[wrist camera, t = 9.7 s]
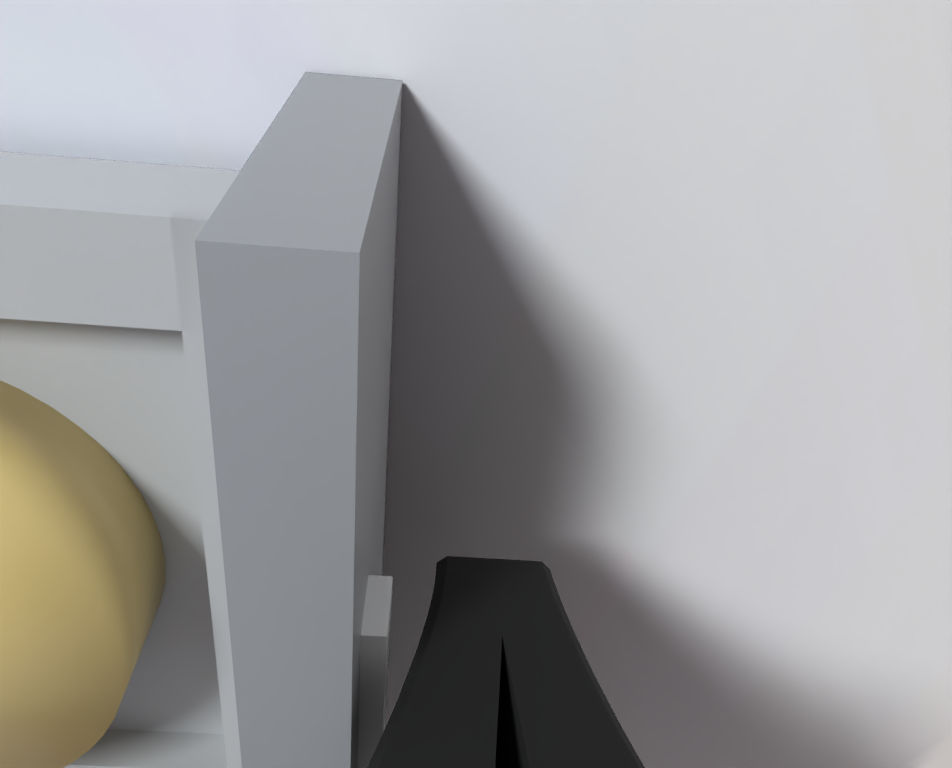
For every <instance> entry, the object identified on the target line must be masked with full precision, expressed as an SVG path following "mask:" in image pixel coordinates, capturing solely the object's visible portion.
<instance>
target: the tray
mask: <svg viewBox="0 0 952 768" xmlns="http://www.w3.org/2000/svg"><path fill="white" fill-rule="evenodd" d="M401 103H402V80H392V79H380V78H369V77H357V76H346V75H334V74H323V73H311V72H305V74H304V75H303V77H302V78H301V80H300V81H299V83H298V84H297V86H296V87H295V89H294V90H293V92H292V93H291V95H290V96H289V98H288V99H287V101H286V102H285V104H284V105H283V107H282V108H281V110H280V112H279V113H278V115H277V116H276V118H275V119H274V121H273V122H272V124H271V125H270V127H269V128H268V130H267V131H266V133H265V134H264V136H263V137H262V139H261V140H260V142H259V143H258V145H257V146H256V148H255V150H254V151H253V153H252V154H251V156H250V157H249V159H248V160H247V162H246V163H245V165H244V166H243V168H242V169H241V171H240V170H227V169H215V168H202V167H190V166H177V165H165V164H152V163H140V162H128V161H115V160H103V159H90V158H78V157H65V156H53V155H40V154H28V153H15V152H3V151H0V380H1V381H3V382H5V383H8V384H10V385H12V386H14V387H16V388H19V389H21V390H23V391H24V392H26V393H28V394H30V395H31V396H33V397H35V398H37V399H38V400H40V401H42V402H44V403H45V404H47V405H49V406H51V407H52V408H54V409H55V410H56V411H58V412H59V413H61V414H62V415H64V416H65V417H66V418H68V419H69V420H71V421H72V422H74V423H75V424H76V425H78V426H79V427H80V428H82V429H83V430H84V431H85V432H86V433H87V434H88V435H90V436H91V437H92V438H93V439H94V440H95V441H97V442H98V443H99V444H100V445H101V446H102V447H103V448H104V449H105V450H106V451H107V452H108V453H109V454H110V455H111V456H112V457H113V458H114V459H115V460H116V462H117V463H118V464H119V465H120V466H121V467H122V468H123V469H124V470H125V472H126V473H127V475H128V476H129V477H130V479H131V480H132V481H133V483H134V484H135V485H136V487H137V488H138V490H139V491H140V492H141V494H142V496H143V498H144V500H145V502H146V503H147V505H148V507H149V509H150V511H151V513H152V514H153V517H154V520H155V523H156V525H157V528H158V531H159V533H160V536H161V540H162V546H163V551H164V556H165V584H164V590H163V595H162V600H161V602H160V605H159V607H158V610H157V613H156V615H155V618H154V620H153V623H152V625H151V628H150V630H149V633H148V635H147V638H146V640H145V643H144V645H143V648H142V650H141V653H140V655H139V658H138V660H137V663H136V665H135V668H134V670H133V673H132V675H131V678H130V680H129V683H128V685H127V688H126V690H125V693H124V695H123V698H122V700H121V703H120V705H119V708H118V710H117V713H116V716H115V718H114V720H113V721H112V723H111V724H110V726H109V728H108V729H107V731H106V732H105V734H104V735H103V736H102V737H101V738H100V739H99V741H98V742H97V743H96V744H95V745H94V746H93V747H92V748H91V749H90V750H89V751H87V752H86V753H85V754H83V755H82V756H81V757H79V758H78V759H76V760H75V761H74V762H72V763H71V764H69V765H67V766H65V767H63V768H367V767H368V765H369V763H370V760H371V758H372V756H373V754H374V752H375V750H376V747H377V745H378V743H379V741H380V739H381V737H382V734H383V732H384V730H385V722H386V702H387V682H388V662H389V642H390V622H391V602H392V582H393V576H382V564H383V540H384V516H385V491H386V467H387V443H388V418H389V394H390V370H391V346H392V321H393V297H394V273H395V248H396V224H397V200H398V176H399V151H400V127H401Z"/></svg>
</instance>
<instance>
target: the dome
mask: <svg viewBox="0 0 952 768" xmlns="http://www.w3.org/2000/svg"><path fill="white" fill-rule="evenodd" d="M164 584H165V556H164V551H163V546H162V540H161V536H160V533H159V531H158V528H157V525H156V523H155V520H154V517H153V514H152V513H151V511H150V509H149V507H148V505H147V503H146V502H145V500H144V498H143V496H142V494H141V492H140V491H139V490H138V488H137V487H136V485H135V484H134V483H133V481H132V480H131V479H130V477H129V476H128V475H127V473H126V472H125V470H124V469H123V468H122V467H121V466H120V465H119V464H118V463H117V462H116V460H115V459H114V458H113V457H112V456H111V455H110V454H109V453H108V452H107V451H106V450H105V449H104V448H103V447H102V446H101V445H100V444H99V443H98V442H97V441H95V440H94V439H93V438H92V437H91V436H90V435H88V434H87V433H86V432H85V431H84V430H83V429H82V428H80V427H79V426H78V425H76V424H75V423H74V422H72V421H71V420H69V419H68V418H66V417H65V416H64V415H62V414H61V413H59V412H58V411H56V410H55V409H54V408H52V407H51V406H49V405H47V404H45V403H44V402H42V401H40V400H38V399H37V398H35V397H33V396H31V395H30V394H28V393H26V392H24V391H23V390H21V389H19V388H16V387H14V386H12V385H10V384H8V383H5V382H3V381H1V380H0V768H63V767H65V766H67V765H69V764H71V763H72V762H74V761H75V760H76V759H78V758H79V757H81V756H82V755H83V754H85V753H86V752H87V751H89V750H90V749H91V748H92V747H93V746H94V745H95V744H96V743H97V742H98V741H99V739H100V738H101V737H102V736H103V735H104V734H105V732H106V731H107V729H108V728H109V726H110V724H111V723H112V721H113V720H114V718H115V716H116V713H117V710H118V708H119V705H120V703H121V700H122V698H123V695H124V693H125V690H126V688H127V685H128V683H129V680H130V678H131V675H132V673H133V670H134V668H135V665H136V663H137V660H138V658H139V655H140V653H141V650H142V648H143V645H144V643H145V640H146V638H147V635H148V633H149V630H150V628H151V625H152V623H153V620H154V618H155V615H156V613H157V610H158V607H159V605H160V602H161V600H162V595H163V590H164Z"/></svg>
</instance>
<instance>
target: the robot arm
mask: <svg viewBox="0 0 952 768" xmlns="http://www.w3.org/2000/svg"><path fill="white" fill-rule="evenodd" d="M367 768H645V767H644V766H643V764H642V762H641V761H640V759H639V757H638V756H637V754H636V752H635V750H634V749H633V747H632V745H631V743H630V742H629V740H628V738H627V736H626V734H625V733H624V731H623V729H622V727H621V725H620V723H619V722H618V720H617V718H616V716H615V714H614V712H613V710H612V708H611V706H610V704H609V703H608V701H607V699H606V697H605V695H604V693H603V691H602V689H601V687H600V685H599V683H598V682H597V680H596V678H595V676H594V674H593V672H592V669H591V667H590V665H589V663H588V661H587V659H586V657H585V655H584V653H583V651H582V648H581V646H580V644H579V642H578V640H577V637H576V635H575V633H574V631H573V629H572V626H571V624H570V622H569V619H568V617H567V615H566V612H565V610H564V607H563V605H562V602H561V600H560V597H559V595H558V592H557V589H556V587H555V584H554V581H553V578H552V575H551V572H550V569H549V568H548V567H547V566H546V565H545V564H544V563H543V562H539V561H522V560H505V559H487V558H470V557H453V556H447V557H445V558H444V559H442V560H440V561H439V562H437V567H436V578H435V585H434V591H433V596H432V600H431V605H430V609H429V612H428V616H427V620H426V623H425V626H424V629H423V632H422V636H421V639H420V642H419V645H418V648H417V651H416V654H415V656H414V659H413V662H412V664H411V667H410V669H409V672H408V675H407V677H406V680H405V682H404V685H403V688H402V690H401V693H400V696H399V698H398V701H397V703H396V705H395V708H394V710H393V713H392V715H391V717H390V719H389V721H388V724H387V726H386V728H385V730H384V732H383V734H382V737H381V739H380V741H379V743H378V745H377V747H376V750H375V752H374V754H373V756H372V758H371V760H370V763H369V765H368V767H367Z"/></svg>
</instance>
